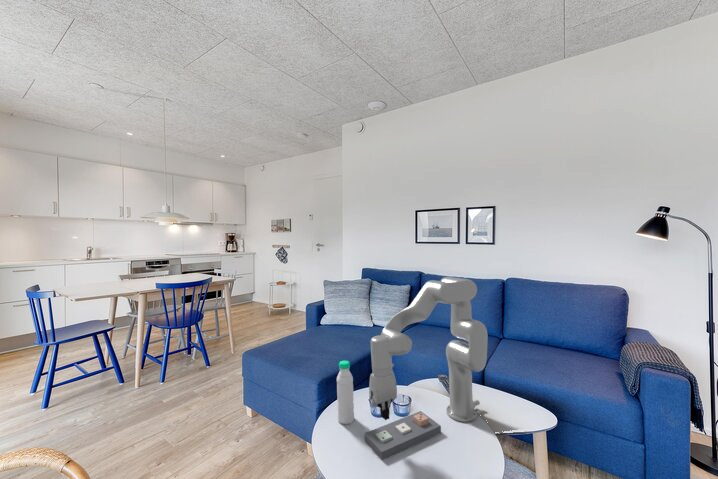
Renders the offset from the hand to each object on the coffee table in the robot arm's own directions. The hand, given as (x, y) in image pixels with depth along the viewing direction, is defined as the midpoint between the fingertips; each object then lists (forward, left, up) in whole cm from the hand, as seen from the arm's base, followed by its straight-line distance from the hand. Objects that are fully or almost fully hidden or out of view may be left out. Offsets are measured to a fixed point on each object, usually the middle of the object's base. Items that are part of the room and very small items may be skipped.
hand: (385, 417), depth 113 cm
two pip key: (+1, 0, -10) cm, 10 cm away
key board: (-8, 0, -10) cm, 13 cm away
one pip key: (-8, 0, -10) cm, 13 cm away
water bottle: (+6, -22, -10) cm, 25 cm away
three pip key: (-17, 0, -9) cm, 19 cm away
